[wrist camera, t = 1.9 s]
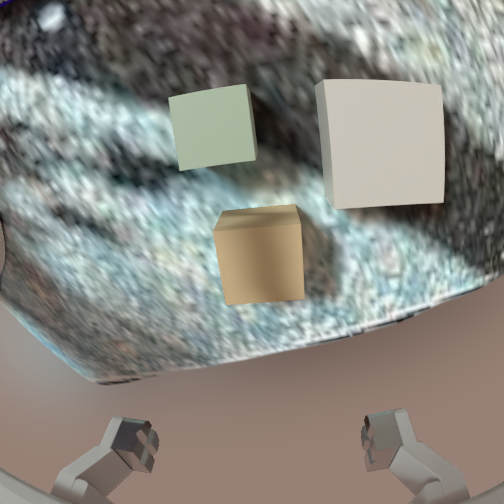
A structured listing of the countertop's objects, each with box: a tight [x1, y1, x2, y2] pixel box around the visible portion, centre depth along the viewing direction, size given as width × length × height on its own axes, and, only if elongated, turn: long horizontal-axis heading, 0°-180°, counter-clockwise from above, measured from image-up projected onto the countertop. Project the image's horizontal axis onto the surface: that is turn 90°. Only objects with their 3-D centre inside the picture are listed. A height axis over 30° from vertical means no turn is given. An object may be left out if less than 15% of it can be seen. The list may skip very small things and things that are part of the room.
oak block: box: [213, 204, 305, 305], centre depth 24 cm, size 6×6×5 cm
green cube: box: [169, 84, 258, 171], centre depth 20 cm, size 5×5×5 cm
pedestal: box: [315, 79, 445, 209], centre depth 20 cm, size 9×9×4 cm
